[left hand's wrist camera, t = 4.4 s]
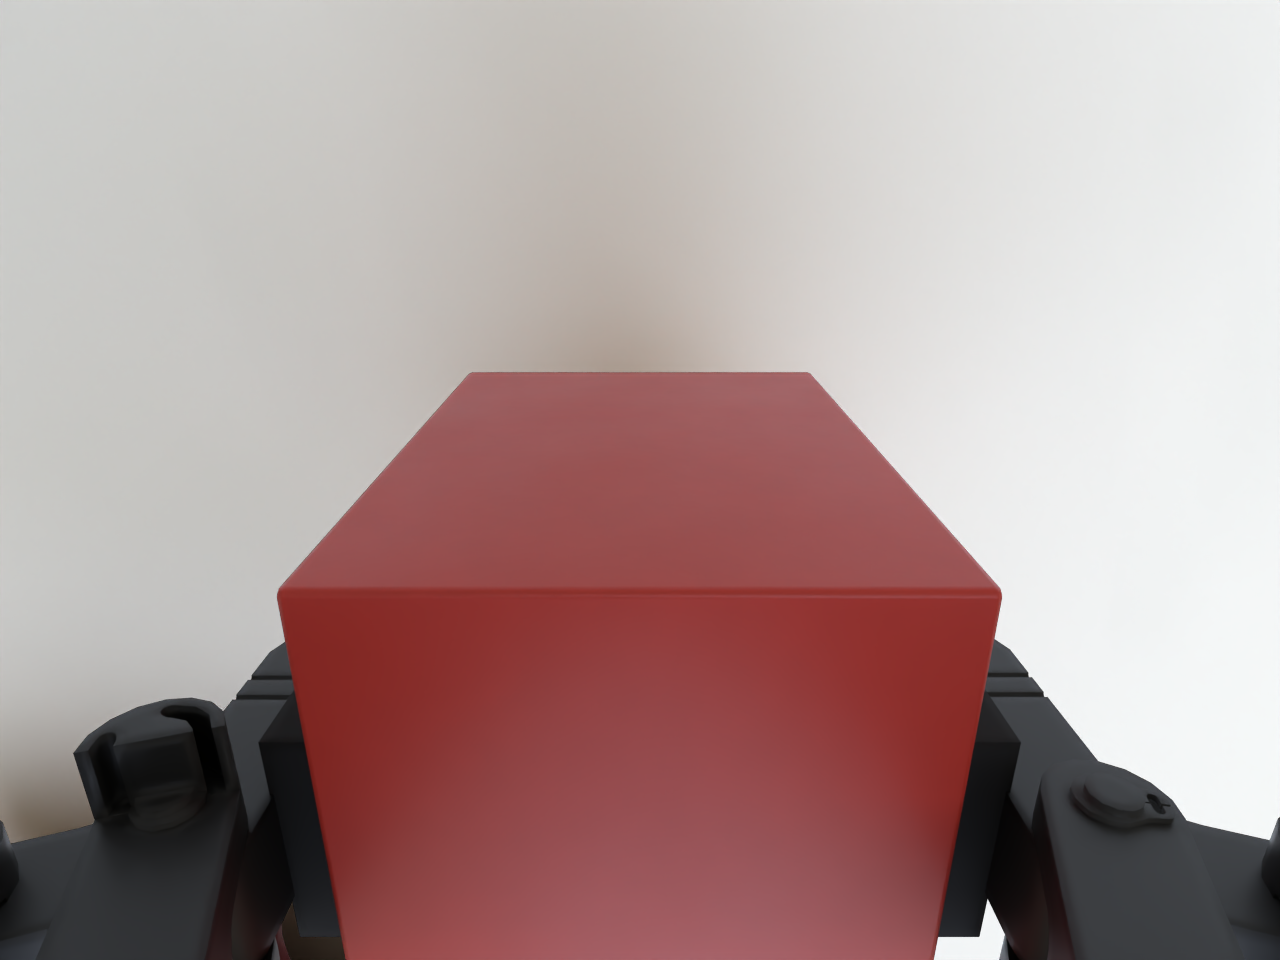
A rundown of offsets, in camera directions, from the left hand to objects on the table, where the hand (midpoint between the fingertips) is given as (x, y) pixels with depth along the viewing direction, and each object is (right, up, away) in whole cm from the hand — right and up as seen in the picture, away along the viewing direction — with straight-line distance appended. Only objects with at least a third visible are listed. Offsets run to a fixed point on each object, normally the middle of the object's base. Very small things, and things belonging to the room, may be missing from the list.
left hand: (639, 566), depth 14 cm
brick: (0, 0, +1) cm, 1 cm away
